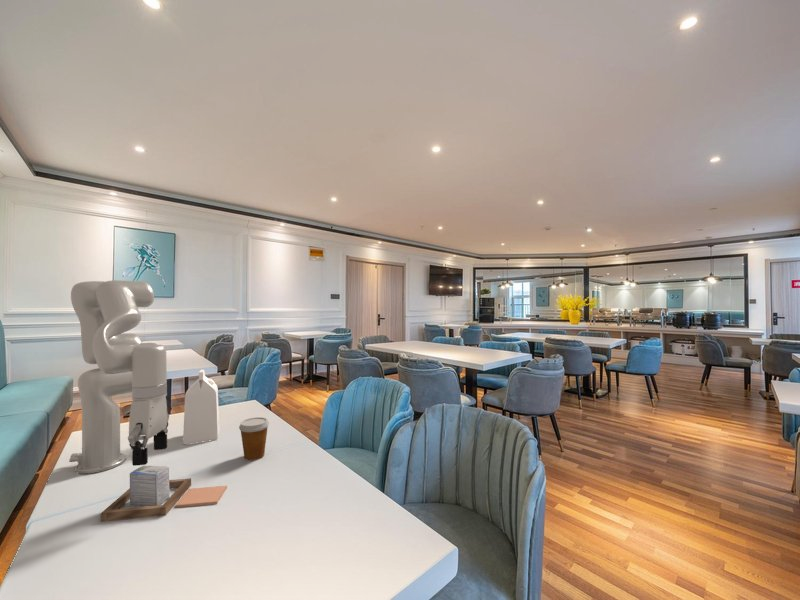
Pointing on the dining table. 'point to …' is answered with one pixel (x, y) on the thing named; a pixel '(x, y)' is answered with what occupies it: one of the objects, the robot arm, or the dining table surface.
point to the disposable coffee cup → (254, 437)
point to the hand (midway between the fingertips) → (150, 456)
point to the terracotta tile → (201, 496)
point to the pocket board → (149, 511)
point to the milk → (201, 411)
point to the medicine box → (149, 485)
